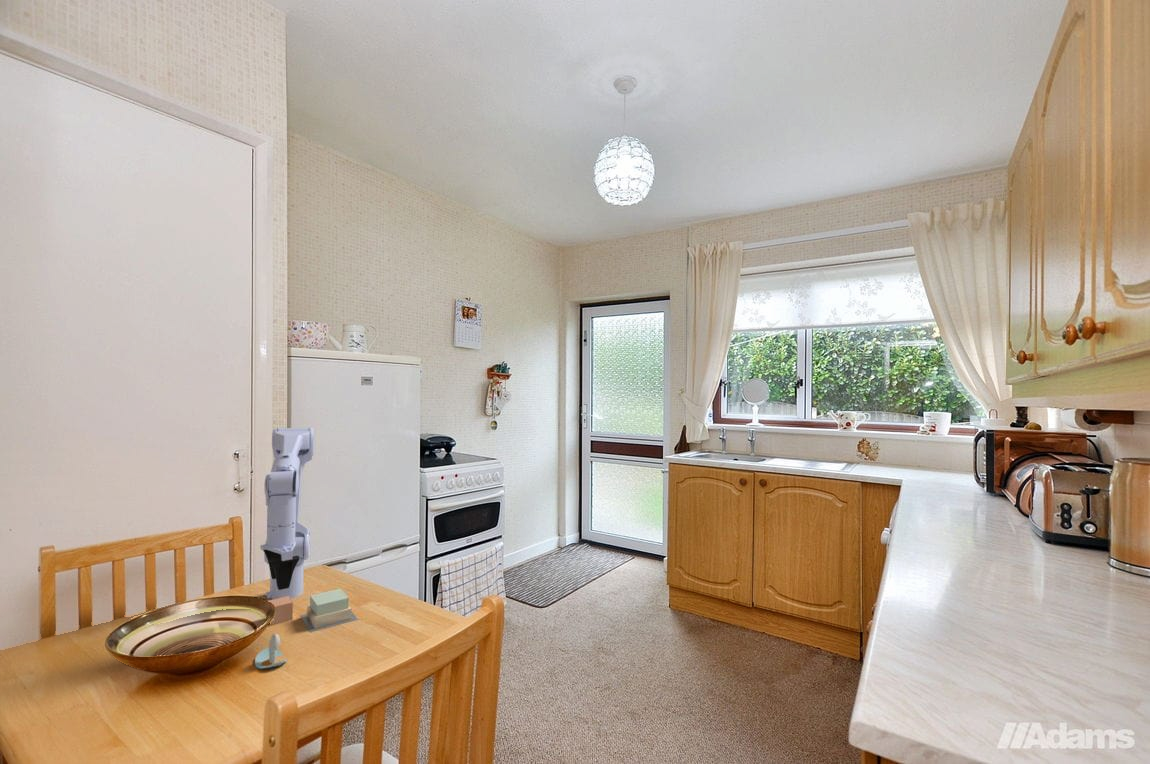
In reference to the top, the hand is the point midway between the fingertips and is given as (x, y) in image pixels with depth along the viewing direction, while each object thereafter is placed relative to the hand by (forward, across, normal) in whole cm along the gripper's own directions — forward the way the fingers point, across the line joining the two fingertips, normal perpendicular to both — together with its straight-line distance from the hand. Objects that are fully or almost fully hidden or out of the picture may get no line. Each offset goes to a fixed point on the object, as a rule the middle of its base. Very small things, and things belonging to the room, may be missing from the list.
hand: (280, 583), depth 117 cm
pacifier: (+10, +19, -5) cm, 22 cm away
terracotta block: (+9, 0, 0) cm, 9 cm away
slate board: (+9, +6, +9) cm, 14 cm away
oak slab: (+8, +6, +9) cm, 14 cm away
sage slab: (+6, +6, +9) cm, 12 cm away
